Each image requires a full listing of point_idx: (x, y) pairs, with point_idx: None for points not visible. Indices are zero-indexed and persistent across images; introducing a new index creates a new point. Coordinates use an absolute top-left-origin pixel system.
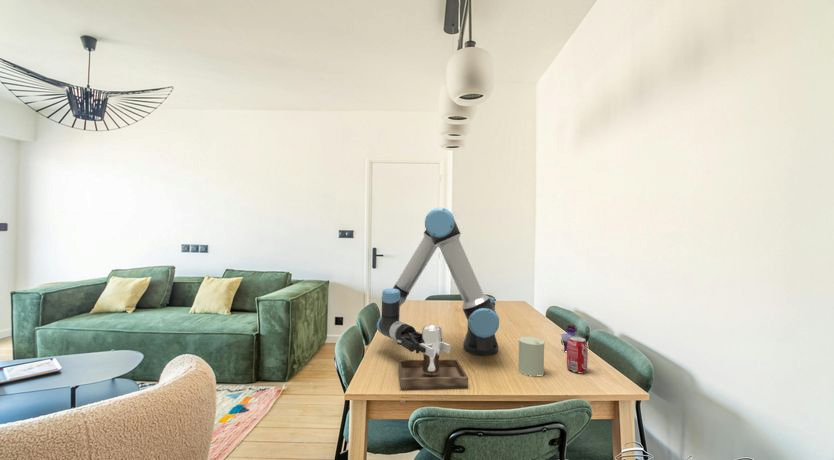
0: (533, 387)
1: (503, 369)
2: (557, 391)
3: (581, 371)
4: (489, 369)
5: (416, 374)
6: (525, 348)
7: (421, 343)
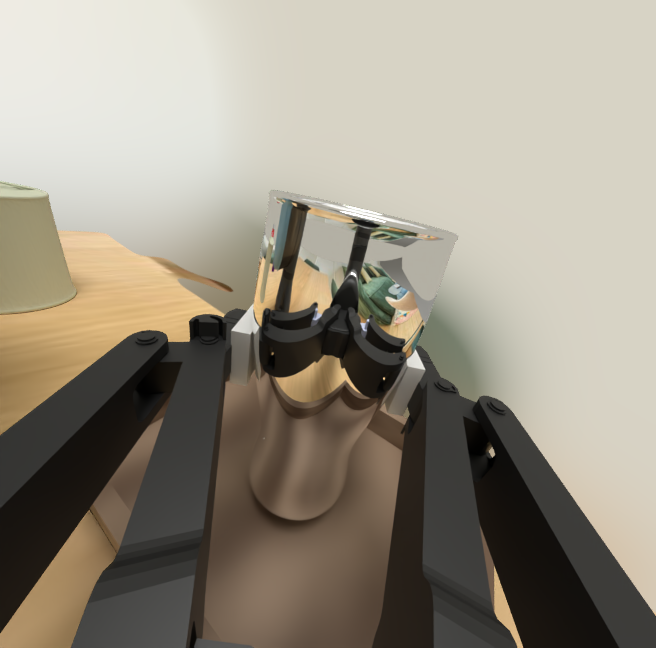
0: (159, 290)
1: (16, 338)
2: (158, 273)
3: None
4: (31, 367)
5: (350, 556)
6: (38, 217)
7: (413, 365)
